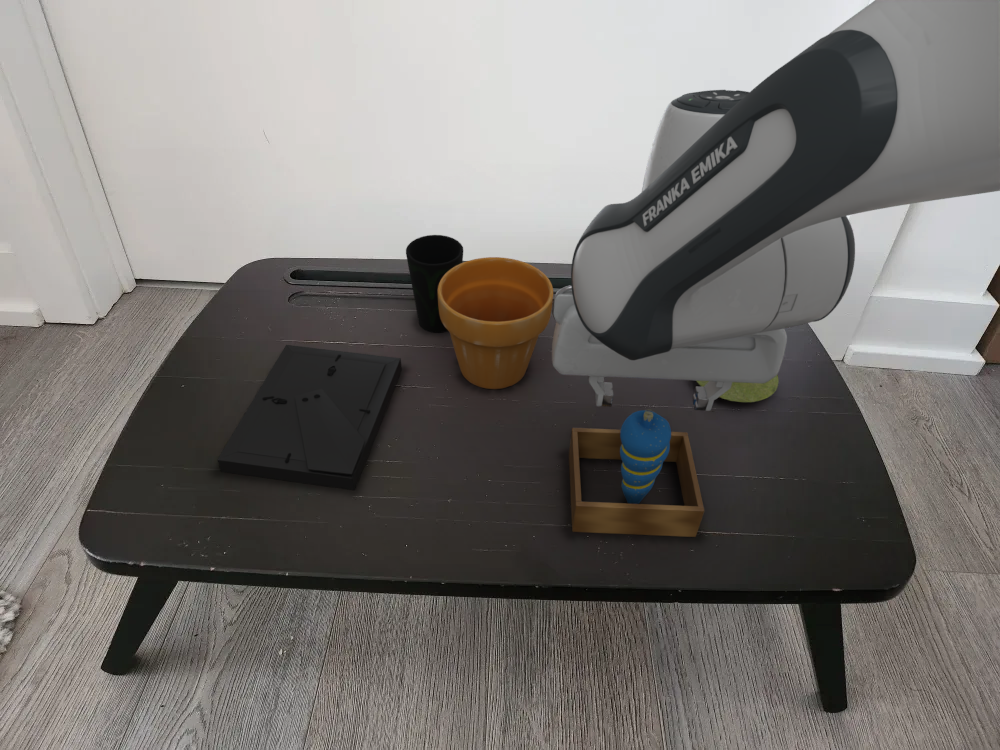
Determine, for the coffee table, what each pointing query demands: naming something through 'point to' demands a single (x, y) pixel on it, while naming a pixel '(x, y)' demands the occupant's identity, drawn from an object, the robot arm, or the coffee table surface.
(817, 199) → the robot arm
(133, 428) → the coffee table surface
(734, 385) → the green flat round disc
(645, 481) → the ornament
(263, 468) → the picture frame
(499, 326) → the flower pot
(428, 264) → the cup
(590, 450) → the wooden box
